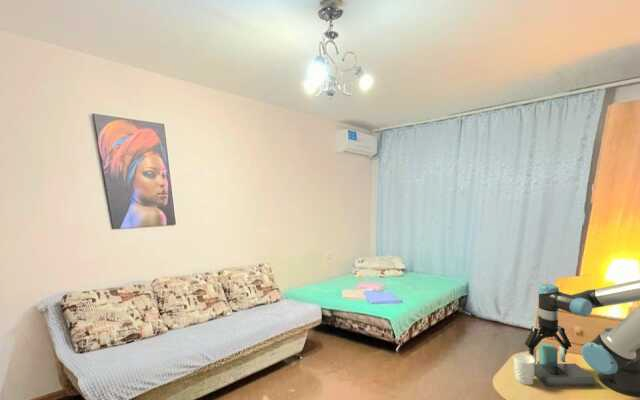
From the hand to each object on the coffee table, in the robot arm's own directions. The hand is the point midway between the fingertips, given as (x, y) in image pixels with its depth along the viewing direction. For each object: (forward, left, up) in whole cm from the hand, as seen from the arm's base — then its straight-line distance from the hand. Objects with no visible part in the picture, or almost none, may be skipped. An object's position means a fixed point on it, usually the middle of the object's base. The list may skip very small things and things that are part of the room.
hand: (547, 361), depth 145 cm
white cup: (+10, +17, -3) cm, 20 cm away
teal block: (0, 0, -3) cm, 3 cm away
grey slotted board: (-4, +9, -3) cm, 10 cm away
